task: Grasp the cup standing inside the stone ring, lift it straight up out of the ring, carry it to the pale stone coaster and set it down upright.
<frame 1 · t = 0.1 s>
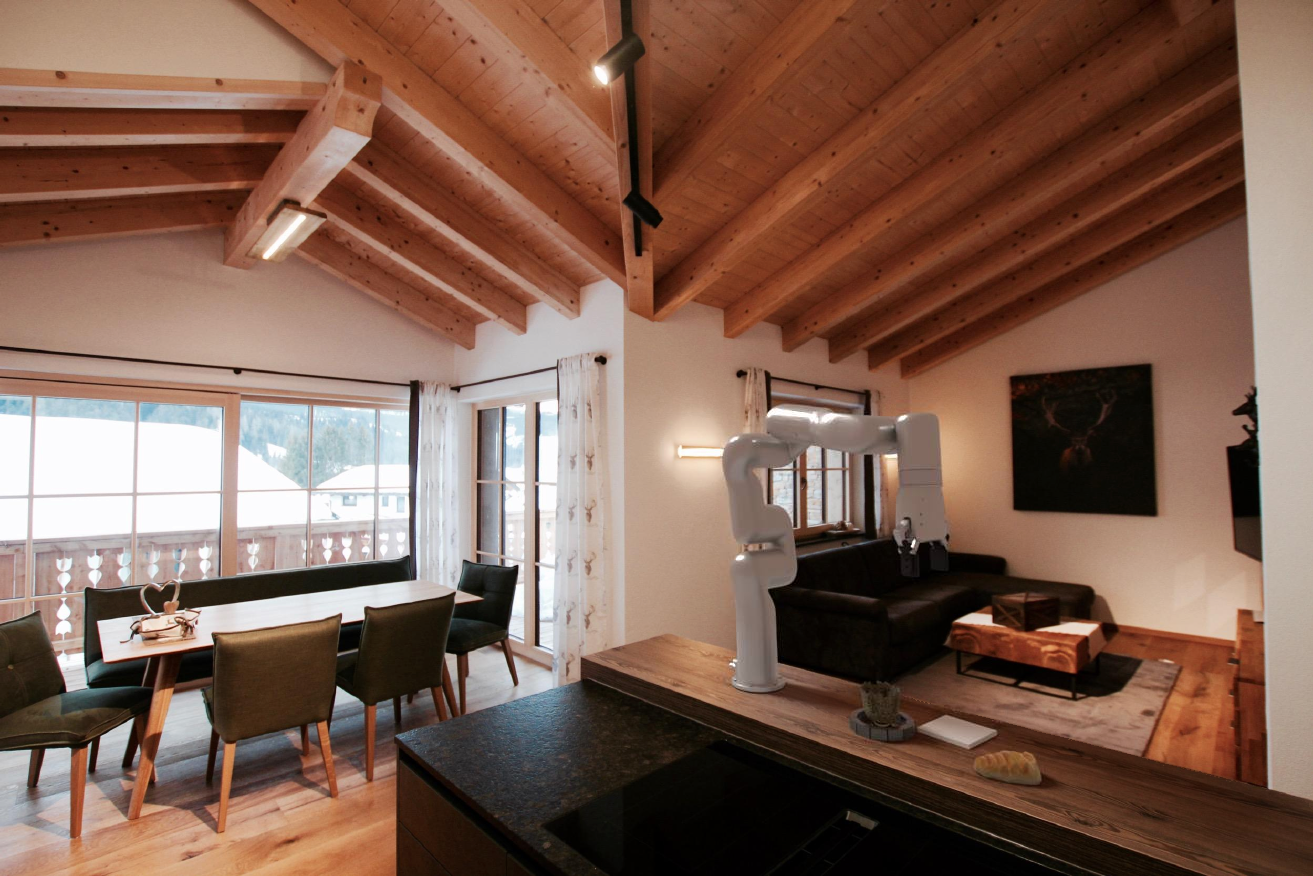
hand: (925, 573, 114), 31 cm above the counter, tool pointing down, fingers open, 9 cm apart
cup: (882, 730, 121), on the counter
stone coaster: (956, 733, 118), on the counter
pastry: (1010, 778, 101), on the counter
stone ring: (882, 728, 121), on the counter
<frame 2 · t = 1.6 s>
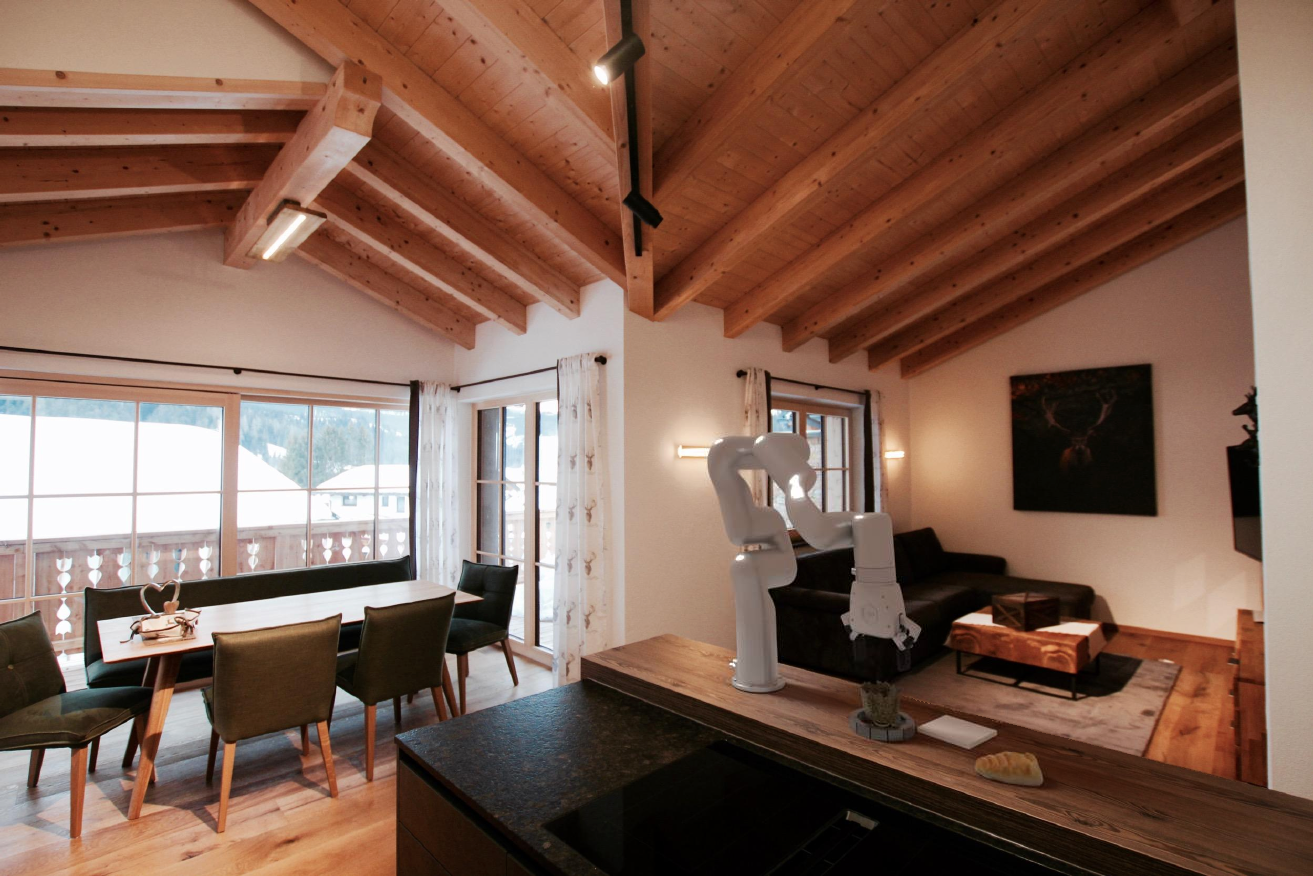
hand: (881, 664, 121), 12 cm above the counter, tool pointing down, fingers open, 9 cm apart
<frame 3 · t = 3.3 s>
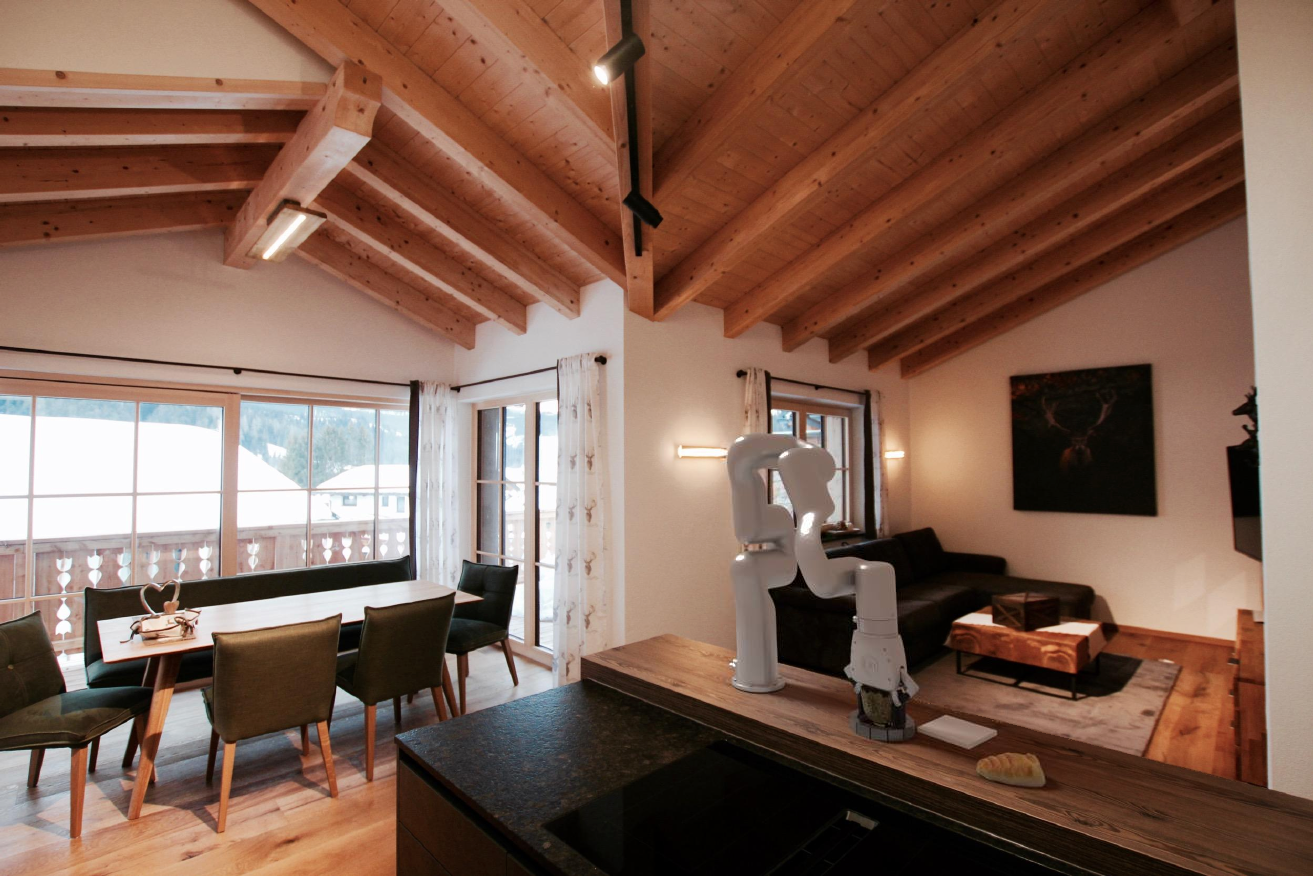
hand: (881, 718, 121), 2 cm above the counter, tool pointing down, fingers closed on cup, 7 cm apart
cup: (882, 730, 121), on the counter, touching gripper
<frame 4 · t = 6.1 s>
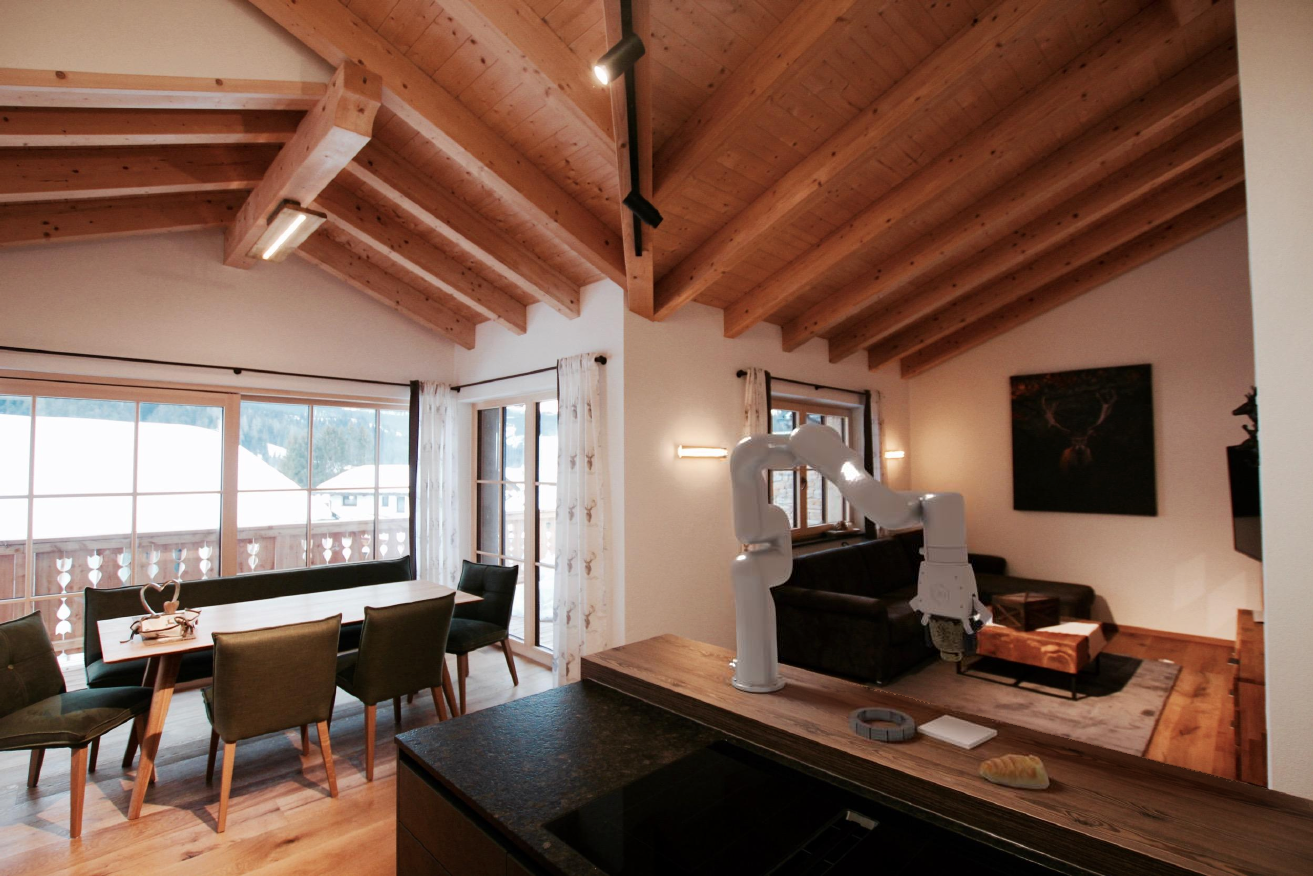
hand: (951, 649, 119), 16 cm above the counter, tool pointing down, fingers closed on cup, 6 cm apart
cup: (951, 660, 119), point 14 cm above the counter, touching gripper
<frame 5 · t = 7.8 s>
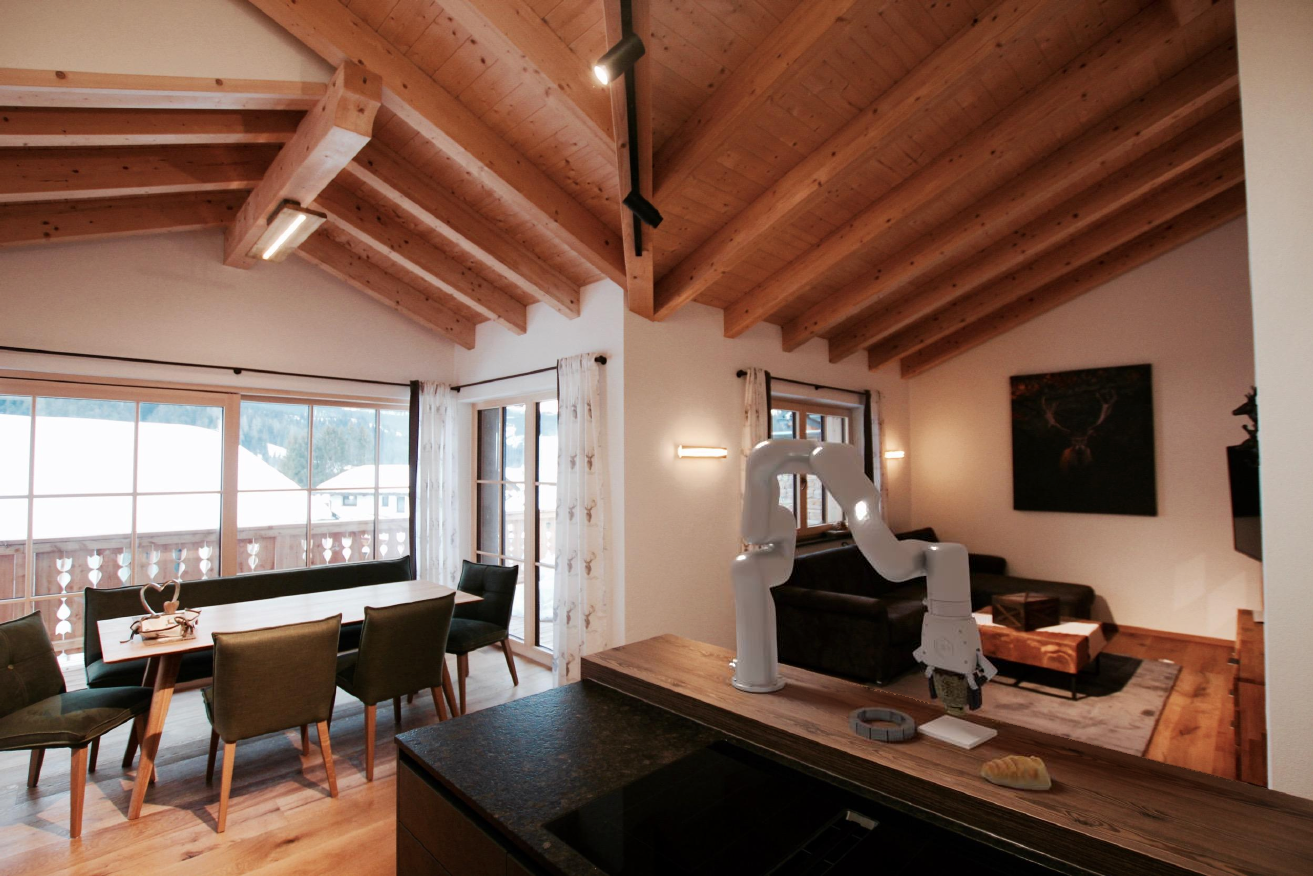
hand: (955, 702, 118), 6 cm above the counter, tool pointing down, fingers closed on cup, 6 cm apart
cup: (955, 714, 118), point 4 cm above the counter, touching gripper
when the fingers open (4 cm above the counter, at t = 9.2 s): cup drops 1 cm, resting on stone coaster.
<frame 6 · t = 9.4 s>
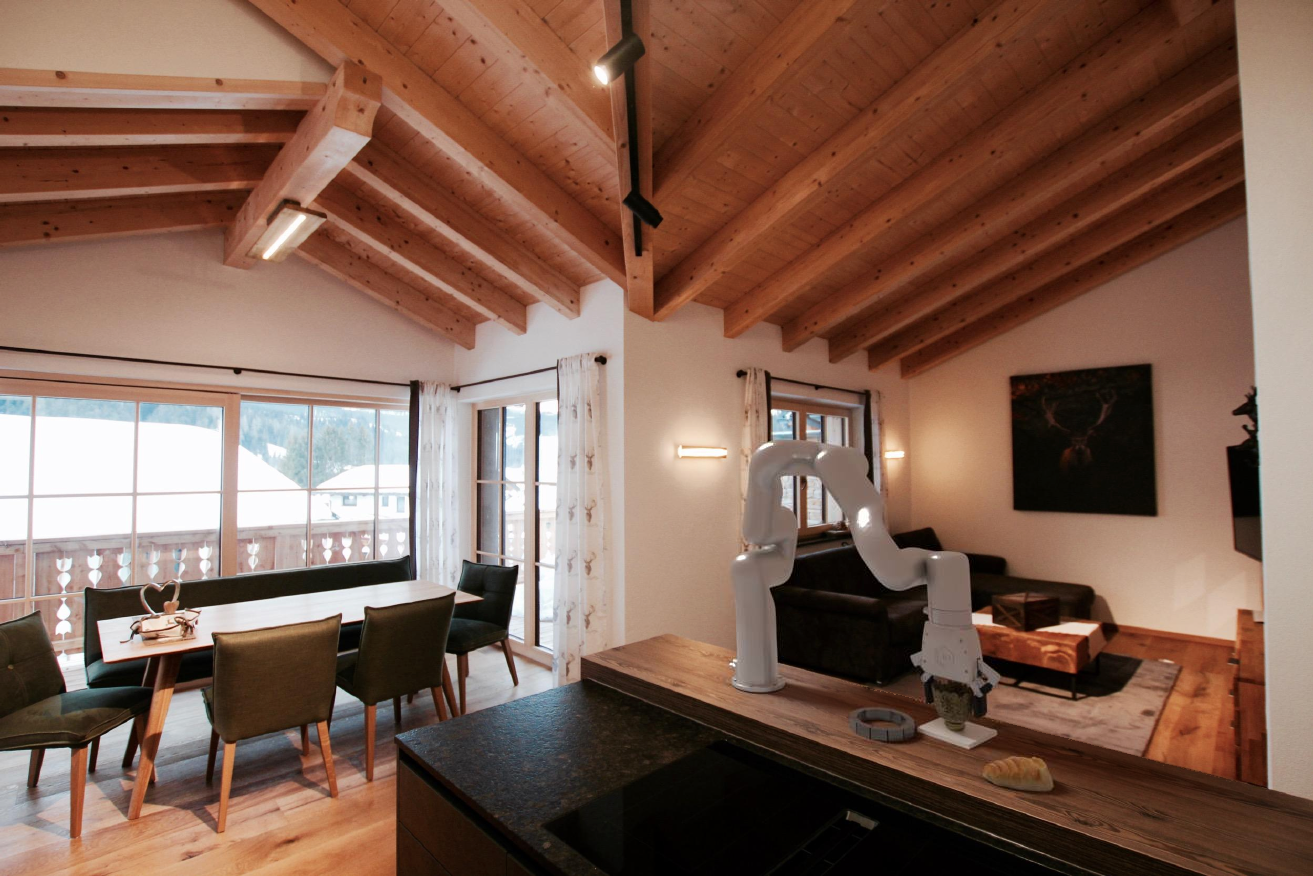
hand: (955, 709, 118), 4 cm above the counter, tool pointing down, fingers open, 9 cm apart
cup: (955, 729, 118), point 1 cm above the counter, touching stone coaster
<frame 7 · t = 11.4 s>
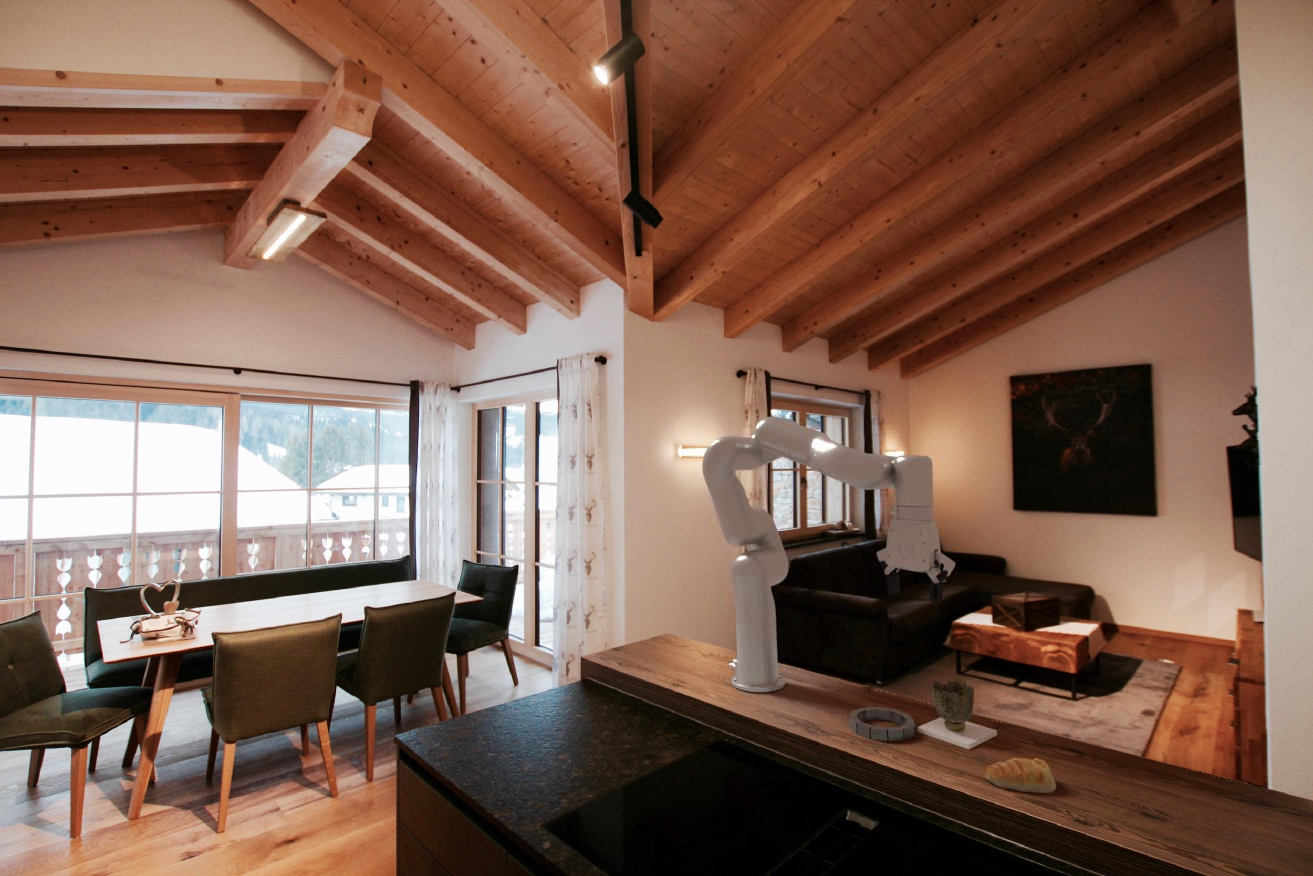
hand: (914, 597, 128), 24 cm above the counter, tool pointing down, fingers open, 9 cm apart
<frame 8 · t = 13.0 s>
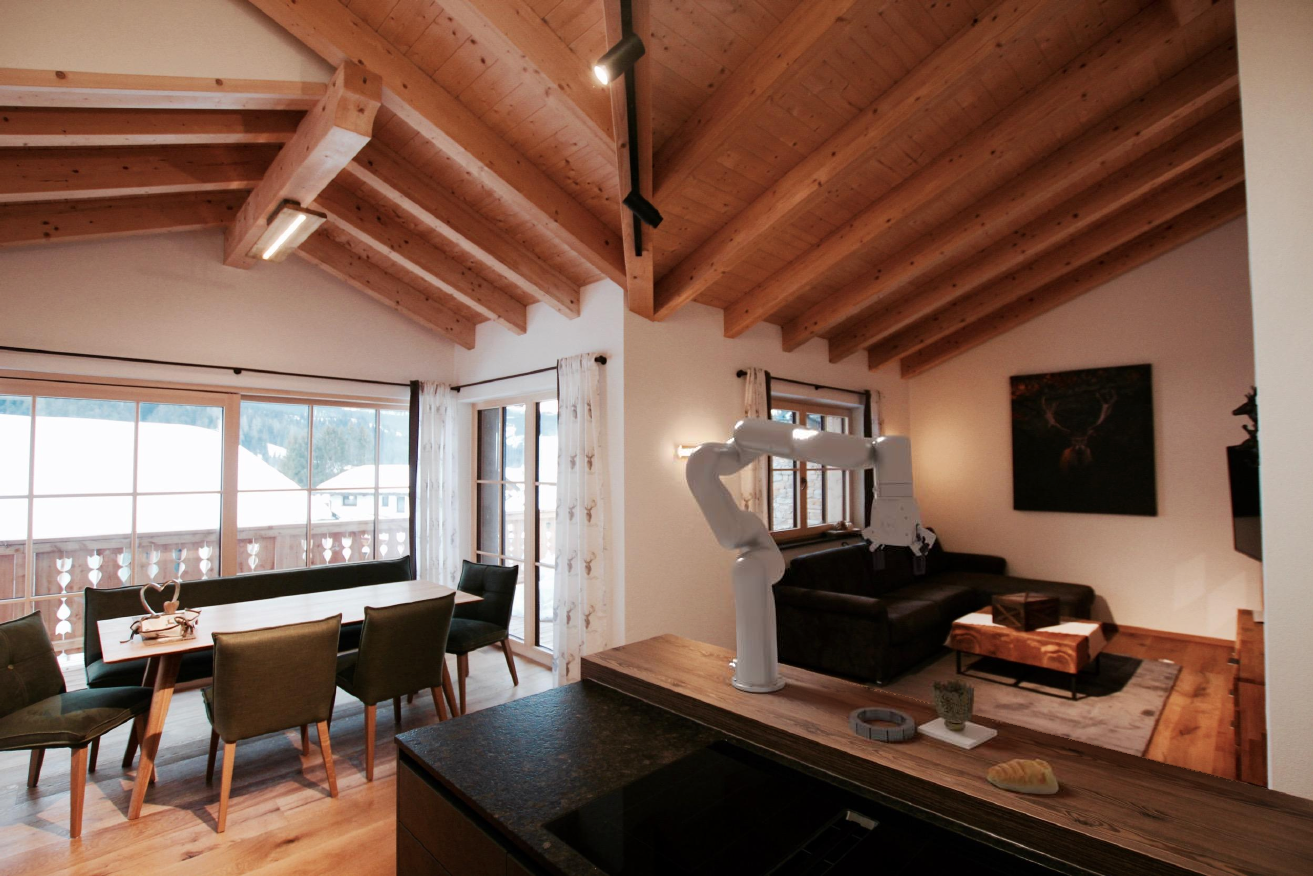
hand: (898, 571, 134), 28 cm above the counter, tool pointing down, fingers open, 9 cm apart
at the end: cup inside the target area on the stone coaster (0.2 cm from its centre), point 0.6 cm above the stone coaster's base; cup tilted 0°; the gripper is holding nothing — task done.
